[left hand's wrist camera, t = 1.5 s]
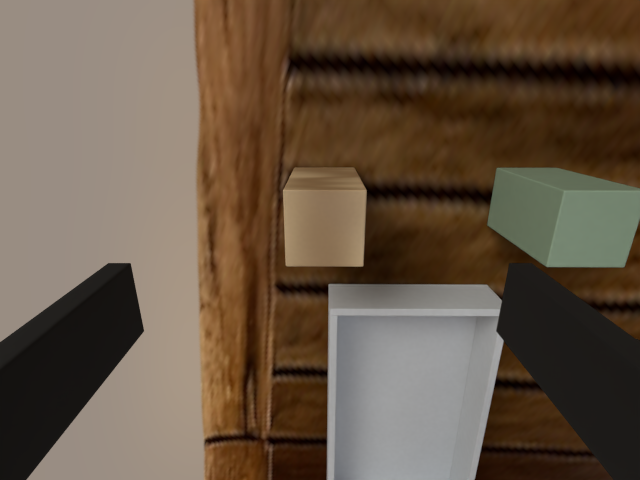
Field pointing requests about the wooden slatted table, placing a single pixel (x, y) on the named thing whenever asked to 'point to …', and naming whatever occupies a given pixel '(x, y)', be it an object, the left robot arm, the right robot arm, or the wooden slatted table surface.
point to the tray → (409, 379)
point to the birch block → (324, 217)
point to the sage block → (565, 216)
